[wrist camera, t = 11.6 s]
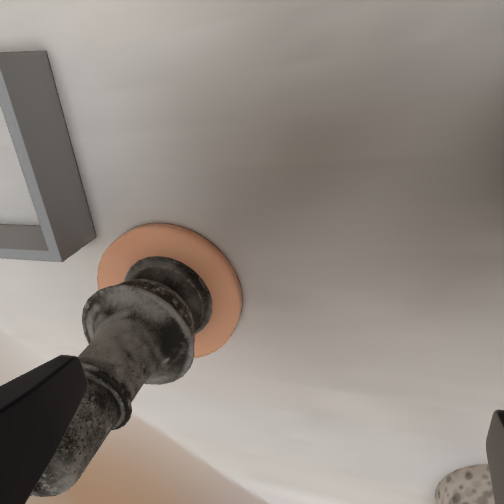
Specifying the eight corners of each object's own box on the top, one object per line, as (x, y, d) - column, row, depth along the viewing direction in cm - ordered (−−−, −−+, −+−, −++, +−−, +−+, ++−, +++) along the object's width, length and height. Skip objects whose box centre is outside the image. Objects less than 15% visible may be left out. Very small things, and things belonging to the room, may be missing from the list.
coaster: (234, 225, 21) (229, 233, 20) (248, 354, 25) (243, 365, 24) (91, 221, 23) (80, 228, 22) (123, 340, 27) (115, 350, 26)
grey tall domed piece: (102, 293, 24) (-101, 487, 13) (154, 229, 21) (-55, 415, 11) (179, 356, 25) (42, 585, 14) (239, 303, 22) (122, 543, 11)
